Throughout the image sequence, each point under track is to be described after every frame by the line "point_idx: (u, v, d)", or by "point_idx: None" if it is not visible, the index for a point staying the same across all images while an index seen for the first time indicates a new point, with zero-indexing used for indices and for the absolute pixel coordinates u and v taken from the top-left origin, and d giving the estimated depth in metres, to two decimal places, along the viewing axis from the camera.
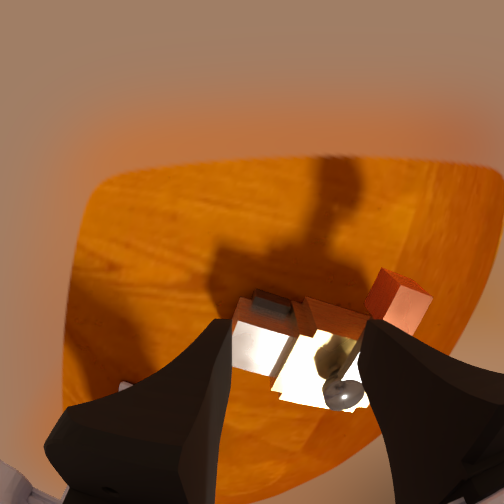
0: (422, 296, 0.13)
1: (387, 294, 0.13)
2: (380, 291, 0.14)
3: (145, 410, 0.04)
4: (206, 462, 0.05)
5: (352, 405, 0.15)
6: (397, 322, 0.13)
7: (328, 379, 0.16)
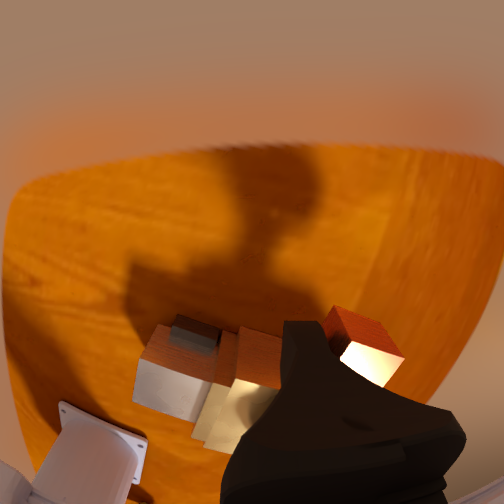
0: (386, 357, 0.08)
1: (333, 349, 0.09)
2: None
3: (321, 419, 0.04)
4: None
5: None
6: None
7: None
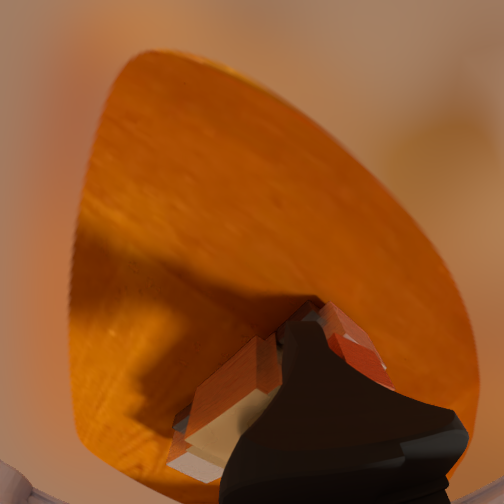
0: None
1: None
2: None
3: (320, 419, 0.04)
4: None
5: None
6: None
7: None
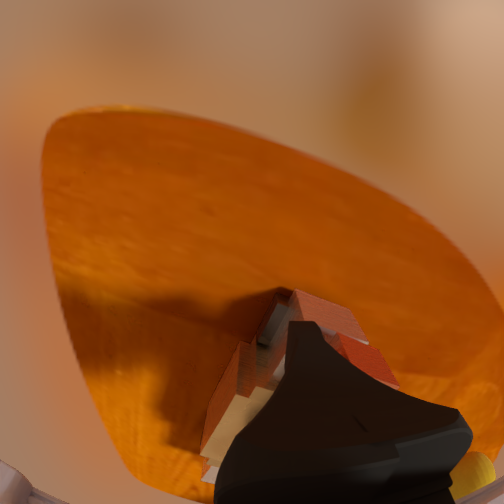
0: None
1: None
2: None
3: (316, 419, 0.04)
4: None
5: None
6: None
7: None
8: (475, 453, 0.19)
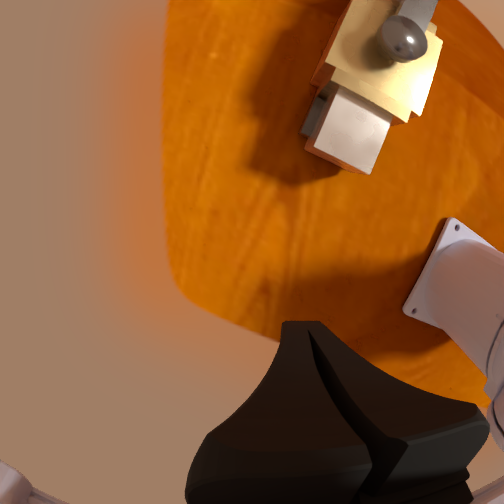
0: None
1: None
2: None
3: (291, 420, 0.04)
4: None
5: (418, 54, 0.10)
6: None
7: (382, 23, 0.10)
8: None
